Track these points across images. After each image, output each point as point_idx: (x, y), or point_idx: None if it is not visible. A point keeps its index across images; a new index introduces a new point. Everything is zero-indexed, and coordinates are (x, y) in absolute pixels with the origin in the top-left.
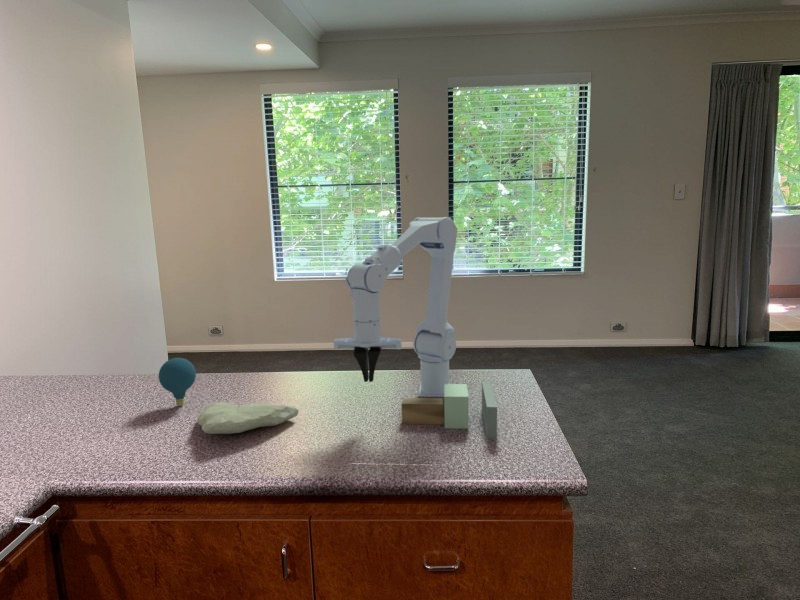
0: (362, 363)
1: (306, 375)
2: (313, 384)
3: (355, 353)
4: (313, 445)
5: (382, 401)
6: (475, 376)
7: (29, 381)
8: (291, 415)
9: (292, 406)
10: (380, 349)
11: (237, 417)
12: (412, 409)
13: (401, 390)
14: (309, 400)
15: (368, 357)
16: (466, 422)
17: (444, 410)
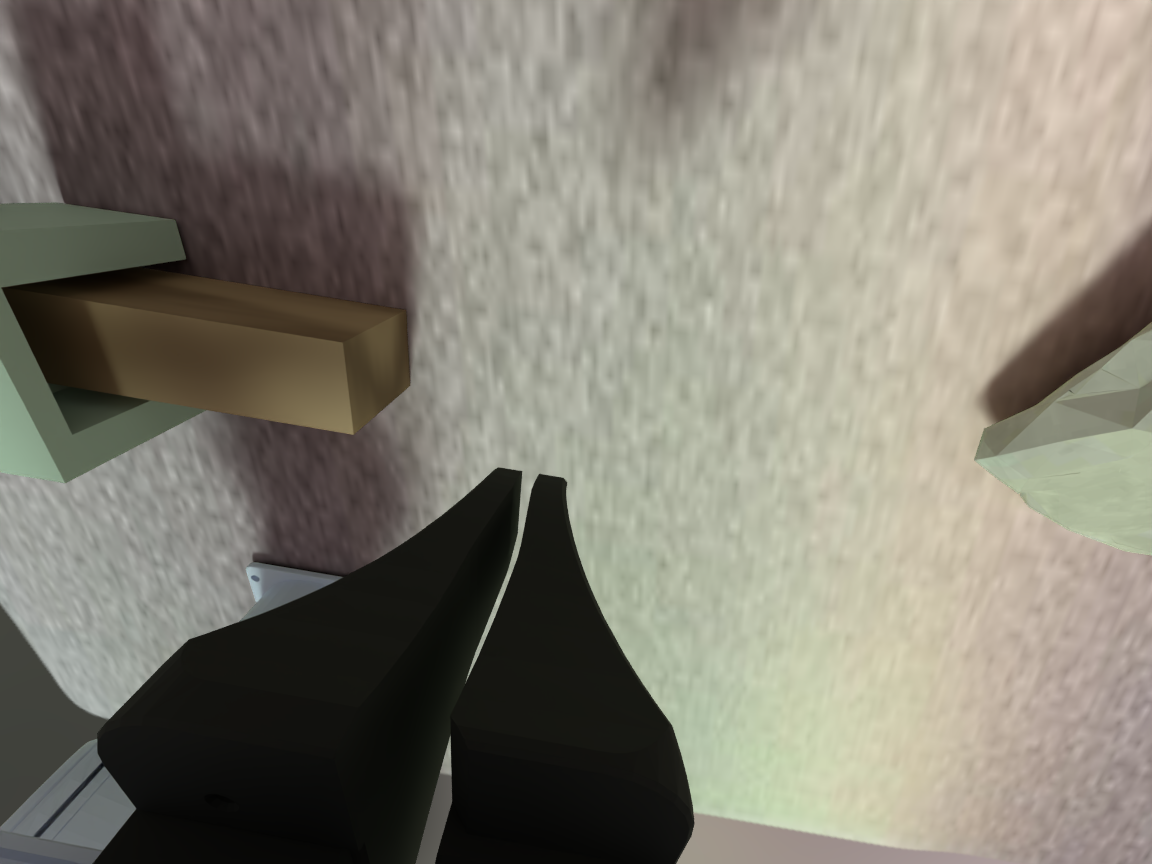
0: (543, 601)
1: (817, 811)
2: (802, 748)
3: (649, 785)
4: (947, 19)
5: None
6: None
7: None
8: (1047, 399)
9: (1043, 474)
10: (133, 826)
11: None
12: (300, 322)
13: None
14: (845, 627)
15: (399, 654)
16: (24, 204)
17: (65, 227)
